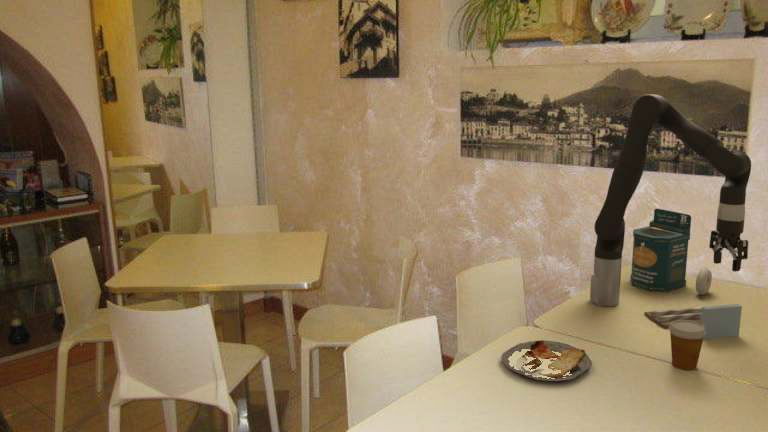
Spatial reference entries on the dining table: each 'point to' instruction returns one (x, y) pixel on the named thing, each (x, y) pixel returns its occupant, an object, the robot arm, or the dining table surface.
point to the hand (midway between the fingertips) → (726, 267)
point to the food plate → (566, 362)
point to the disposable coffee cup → (686, 343)
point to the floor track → (674, 316)
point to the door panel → (721, 321)
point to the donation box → (661, 252)
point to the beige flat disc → (703, 281)
